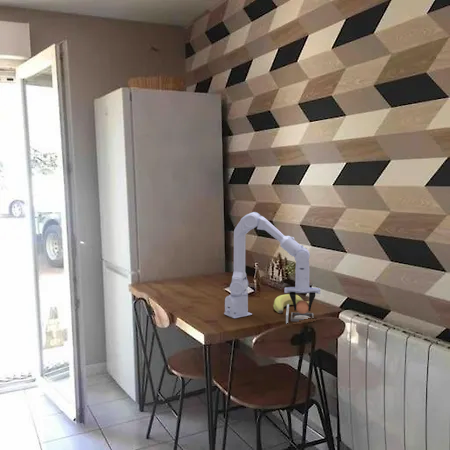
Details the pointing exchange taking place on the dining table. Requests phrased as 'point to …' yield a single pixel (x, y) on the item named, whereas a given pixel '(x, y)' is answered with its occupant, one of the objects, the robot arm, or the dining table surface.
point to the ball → (302, 306)
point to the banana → (284, 302)
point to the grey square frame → (301, 316)
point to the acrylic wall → (287, 313)
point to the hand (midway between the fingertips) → (302, 310)
